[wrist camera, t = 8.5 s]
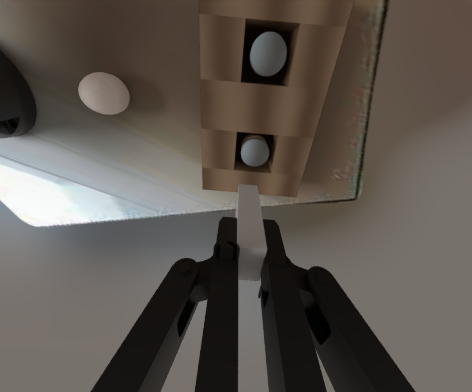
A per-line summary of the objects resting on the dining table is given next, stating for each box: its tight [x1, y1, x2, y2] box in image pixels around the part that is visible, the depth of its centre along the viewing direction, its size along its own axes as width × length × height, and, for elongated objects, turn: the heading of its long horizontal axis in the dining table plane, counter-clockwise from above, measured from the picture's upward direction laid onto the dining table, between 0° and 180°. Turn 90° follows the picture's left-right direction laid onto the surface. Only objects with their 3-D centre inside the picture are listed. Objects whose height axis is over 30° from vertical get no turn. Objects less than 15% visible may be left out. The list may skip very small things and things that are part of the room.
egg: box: [78, 72, 130, 115], centre depth 27 cm, size 5×5×8 cm
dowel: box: [241, 133, 269, 166], centre depth 31 cm, size 4×4×6 cm
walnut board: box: [199, 0, 354, 197], centre depth 28 cm, size 16×26×6 cm, turn 176°
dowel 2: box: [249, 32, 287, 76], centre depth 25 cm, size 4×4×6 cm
